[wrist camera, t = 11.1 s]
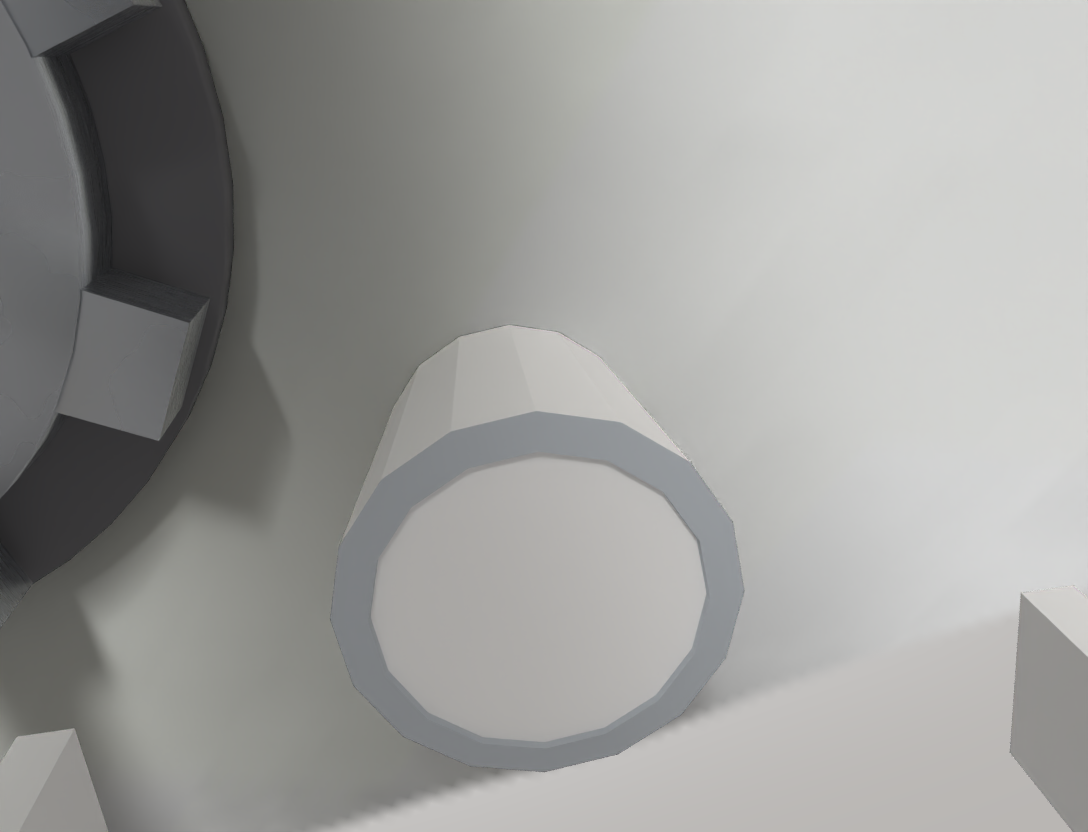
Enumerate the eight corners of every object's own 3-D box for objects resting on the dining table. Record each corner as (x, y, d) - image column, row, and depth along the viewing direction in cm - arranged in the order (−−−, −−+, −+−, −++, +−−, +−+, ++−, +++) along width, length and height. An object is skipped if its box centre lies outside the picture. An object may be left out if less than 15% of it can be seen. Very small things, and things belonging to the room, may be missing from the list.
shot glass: (594, 608, 25) (648, 815, 18) (321, 528, 23) (276, 724, 17) (709, 356, 23) (816, 490, 16) (417, 252, 21) (408, 353, 15)
